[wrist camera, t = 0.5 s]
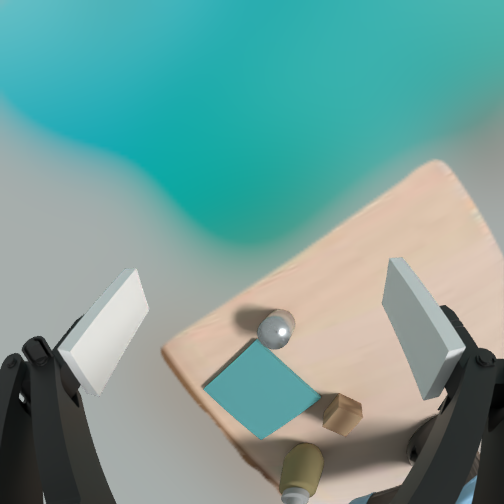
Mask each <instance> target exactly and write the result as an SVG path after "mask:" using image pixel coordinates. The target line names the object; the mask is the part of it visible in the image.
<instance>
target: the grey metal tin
mask: <svg viewBox="0 0 504 504" xmlns="http://www.w3.org/2000/svg"><path fill="white" fill-rule="evenodd" d="M294 329H295V319H294V317H293V315H292V314H291V313H290V312H288V311H286V310H282V309H279V310H275V311H273V312H271V313H270V314H269V315H268V316H267V318H266V319H265V320H264V321H263V322H262V323H261V324H260V325H259V327H258V331H257V336H258V339H259V341H260V342H261V344H262V345H263V346H265V347H267V348H269V349H280V348H282V347H284V346H285V345H286V344H287V343H288V341H289V339H290V337H291V335H292V333H293V331H294Z"/></svg>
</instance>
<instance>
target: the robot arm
mask: <svg viewBox="0 0 504 504" xmlns="http://www.w3.org/2000/svg"><path fill="white" fill-rule="evenodd" d="M382 305H383V307H384V309H385V311H386V313H387V315H388V317H389V320H390V322H391V324H392V326H393V328H394V330H395V333H396V335H397V337H398V339H399V342H400V344H401V346H402V348H403V351H404V353H405V355H406V358H407V360H408V363H409V365H410V368H411V370H412V373H413V375H414V378H415V380H416V383H417V385H418V388H419V391H420V393H421V396H422V399H423V400H427V399H431V398H435V397H439V396H440V394H441V392H442V391H443V389H444V387H445V389H446V391H447V393H448V395H447V396H446V398H445V399H444V401H443V402H442V404H441V405H440V407H439V408H438V410H440V412H439V414H438V416H437V417H435V418H433V419H431V420H430V421H428V422H427V423H425V424H424V425H423V426H422V427H420V428H419V429H418V430H417V432H416V433H415V434H414V435H413V437H412V438H411V440H410V442H409V444H408V447H407V455H408V459H409V462H410V464H411V465H412V466H413V467H412V469H411V471H410V472H409V474H408V476H407V477H406V479H405V481H404V482H403V484H402V485H399V486H396V487H393V488H390V489H387V490H383V491H380V492H373V493H371V494H369V495H366V496H363V497H359V498H356V499H354V500H352V501H351V502H350V503H349V504H504V359H496V357H495V355H494V354H493V353H492V352H491V351H489V350H487V349H483V348H478V346H477V345H476V343H475V342H474V340H473V339H472V337H471V336H470V334H469V333H468V331H467V330H466V328H465V327H463V324H462V322H461V321H459V318H458V317H457V315H456V314H455V313H454V311H452V310H451V309H450V308H448V307H447V306H446V305H443V306H439V305H438V304H437V302H436V301H435V300H434V298H433V297H432V295H431V294H430V293H429V291H428V290H427V289H426V287H425V286H424V285H423V283H422V282H421V281H420V279H419V278H418V277H417V275H416V274H415V273H414V271H413V270H412V269H411V268H410V266H409V265H408V264H407V262H406V261H405V260H404V259H403V257H401V258H389V264H388V270H387V277H386V283H385V289H384V294H383V300H382ZM148 311H149V307H148V304H147V301H146V298H145V295H144V291H143V288H142V285H141V282H140V278H139V275H138V272H137V268H126V269H124V270H123V271H122V272H121V273H120V275H119V276H118V277H117V278H116V279H115V280H114V281H113V282H112V283H111V285H110V286H109V287H108V288H107V289H106V290H105V291H104V293H103V294H102V295H101V296H100V297H99V298H98V299H97V301H96V302H95V303H94V304H93V305H92V307H91V308H90V309H89V310H88V311H87V313H86V314H84V315H83V316H81V317H80V318H79V319H77V320H76V321H75V322H74V324H73V325H72V326H71V328H69V330H68V331H67V333H66V334H65V335H64V336H63V337H62V339H61V340H60V341H59V342H58V344H57V345H56V346H55V347H54V349H53V350H52V351H51V349H50V347H49V345H48V344H47V342H46V340H45V339H44V338H43V337H42V336H37V337H33V338H31V339H29V340H28V341H27V342H26V343H25V344H24V345H23V347H22V352H23V353H24V355H25V356H26V358H27V359H28V361H24V360H23V358H22V357H21V355H20V354H18V353H14V354H11V355H9V356H7V358H6V359H5V360H4V362H3V364H2V366H1V369H0V504H43V493H44V496H45V500H46V504H116V502H115V499H114V497H113V495H112V493H111V490H110V488H109V485H108V483H107V481H106V478H105V476H104V473H103V470H102V468H101V465H100V462H99V459H98V456H97V453H96V450H95V447H94V444H93V440H92V437H91V434H90V430H89V427H88V423H87V419H86V415H85V411H84V407H83V403H82V398H81V395H80V393H79V391H78V388H79V387H80V385H81V386H82V387H83V389H84V390H85V392H86V393H87V394H91V395H94V396H98V397H100V394H101V393H102V391H103V389H104V387H105V386H106V384H107V382H108V380H109V378H110V376H111V374H112V373H113V371H114V369H115V367H116V366H117V364H118V362H119V360H120V359H121V357H122V355H123V353H124V352H125V350H126V348H127V346H128V345H129V343H130V341H131V340H132V337H133V336H134V334H135V333H136V331H137V329H138V328H139V326H140V324H141V323H142V321H143V319H144V318H145V316H146V314H147V313H148ZM19 393H21V395H22V396H23V397H24V402H22V401H21V400H20V399H19ZM481 439H482V442H481ZM480 442H481V453H480V454H479V452H478V448H479V445H480Z"/></svg>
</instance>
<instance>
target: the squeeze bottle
mask: <svg viewBox="0 0 504 504" xmlns="http://www.w3.org/2000/svg"><path fill="white" fill-rule="evenodd" d="M323 467H324V459H323V456H322V454H321V451H320V450H319V448H318V447H317V446H315V445H313V444H309V443H302V444H299V445H297V446H295V447H294V448H293V449H292V450H291V451H290V452H289V453H288V454H287V455H286V457H285V459H284V462H283V468H282V474H281V480H280V486H279V490H280V493H281V494H282V497H281V500H282V502H283V503H284V504H307V503H308V501H309V498H310V497H312V496H313V495H314V494H315V492H316V489H317V486H318V483H319V480H320V477H321V474H322V471H323Z"/></svg>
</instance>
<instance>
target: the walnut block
mask: <svg viewBox="0 0 504 504" xmlns="http://www.w3.org/2000/svg"><path fill="white" fill-rule="evenodd" d="M362 418H363V416H362V406H361V403H359V402H357V401H355V400H353V399H351V398H348V397H346V396H344V395H342V394H340V393H339V394H338V395H337V396H336V398H335V399H334V400H333V402H332V403H331V404H330V405H329V407H328V408H327V409H326V410H325V412H324V418H323V426H322V427H324V428H326V429H329V430H331V431H333V432H336V433H338V434H340V435H343V436H345V437H346V436H347V435H348V434H349V433H350V432H351V431H352V429H353V428H354V427H355V426H356V425H357V424H358V423H359V422H360V420H361V419H362Z"/></svg>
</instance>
